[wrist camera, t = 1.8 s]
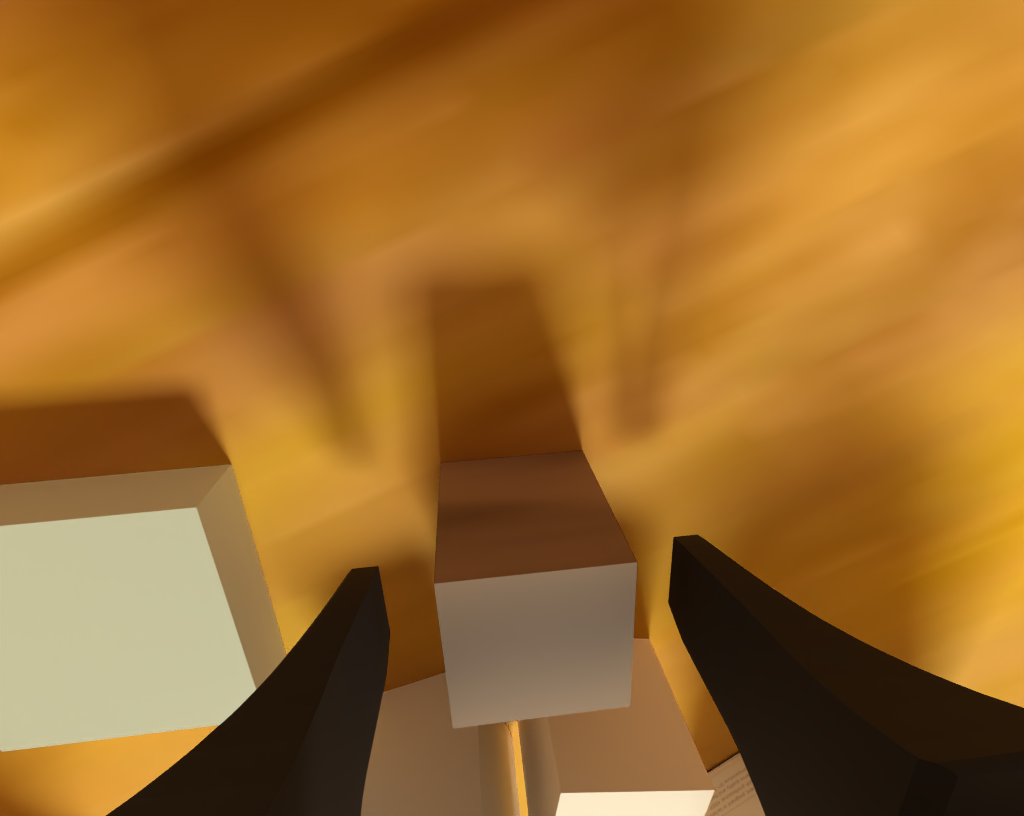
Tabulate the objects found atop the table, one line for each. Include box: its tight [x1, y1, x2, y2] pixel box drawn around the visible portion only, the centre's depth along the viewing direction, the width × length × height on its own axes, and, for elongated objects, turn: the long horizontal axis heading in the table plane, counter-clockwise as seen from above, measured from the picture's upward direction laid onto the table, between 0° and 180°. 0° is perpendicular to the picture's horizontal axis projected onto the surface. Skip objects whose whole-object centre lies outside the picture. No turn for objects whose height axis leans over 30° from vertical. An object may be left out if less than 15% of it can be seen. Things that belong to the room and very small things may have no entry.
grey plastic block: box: [361, 672, 520, 816], centre depth 16 cm, size 4×4×5 cm
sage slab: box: [0, 464, 286, 752], centre depth 15 cm, size 7×7×2 cm
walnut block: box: [434, 450, 637, 729], centre depth 13 cm, size 4×4×5 cm
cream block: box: [518, 638, 715, 816], centre depth 16 cm, size 4×4×5 cm
